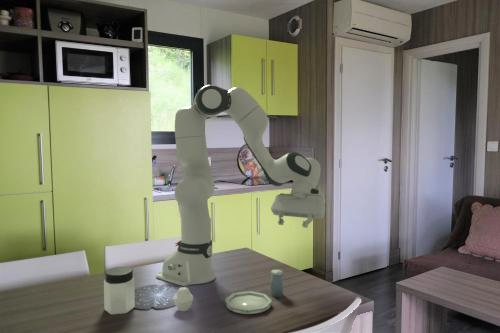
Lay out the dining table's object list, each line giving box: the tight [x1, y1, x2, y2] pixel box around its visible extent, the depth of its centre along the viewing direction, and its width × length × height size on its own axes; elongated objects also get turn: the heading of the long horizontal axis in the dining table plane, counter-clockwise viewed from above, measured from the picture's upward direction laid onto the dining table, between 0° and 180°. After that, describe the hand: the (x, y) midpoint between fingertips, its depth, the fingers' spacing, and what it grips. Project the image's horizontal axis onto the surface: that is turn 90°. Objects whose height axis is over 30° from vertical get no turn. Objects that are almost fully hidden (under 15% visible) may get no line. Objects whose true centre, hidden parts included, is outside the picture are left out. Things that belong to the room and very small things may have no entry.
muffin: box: [172, 286, 194, 312], centre depth 122 cm, size 6×6×7 cm
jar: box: [103, 266, 136, 315], centre depth 122 cm, size 9×8×12 cm
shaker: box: [270, 269, 284, 298], centre depth 134 cm, size 4×4×8 cm
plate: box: [224, 290, 273, 315], centre depth 126 cm, size 14×14×2 cm
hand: (292, 225), depth 144 cm, fingers open, 8 cm apart
